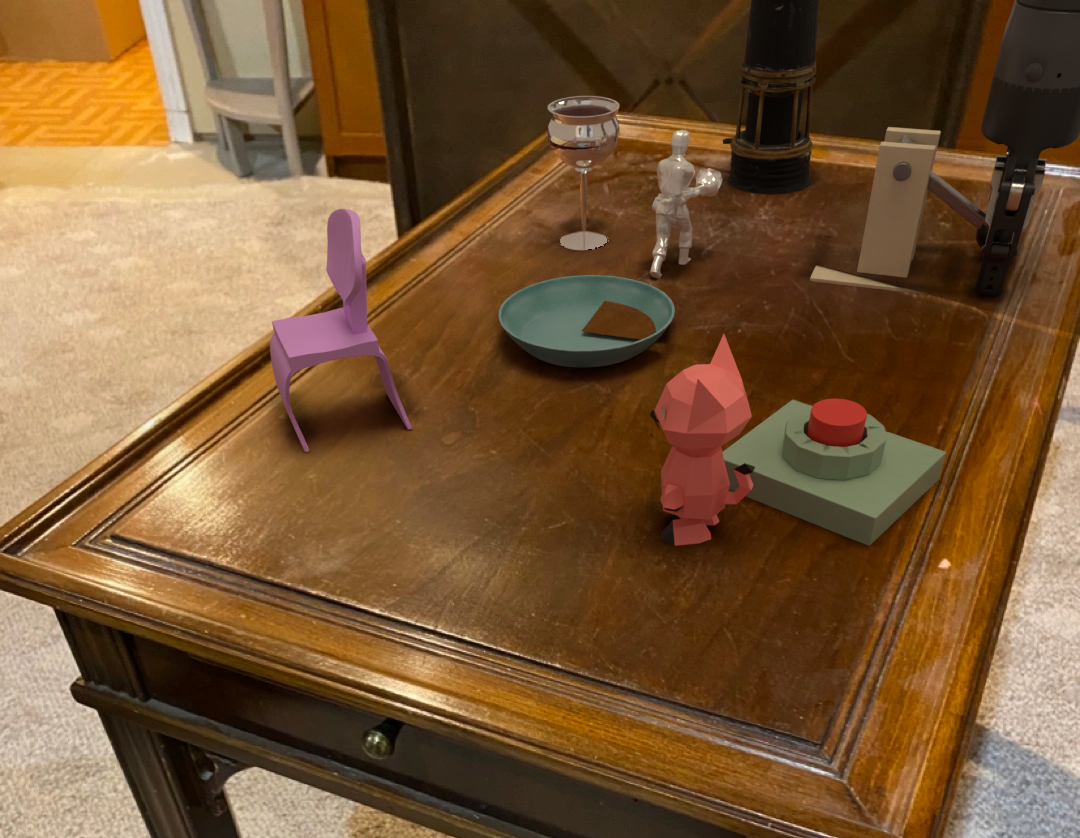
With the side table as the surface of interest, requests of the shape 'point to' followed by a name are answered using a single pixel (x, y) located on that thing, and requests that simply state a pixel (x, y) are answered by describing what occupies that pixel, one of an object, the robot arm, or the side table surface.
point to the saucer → (580, 319)
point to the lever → (962, 206)
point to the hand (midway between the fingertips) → (988, 282)
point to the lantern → (775, 98)
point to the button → (837, 422)
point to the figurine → (678, 199)
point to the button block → (834, 473)
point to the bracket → (892, 211)
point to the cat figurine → (701, 445)
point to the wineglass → (583, 149)
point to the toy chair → (332, 320)
